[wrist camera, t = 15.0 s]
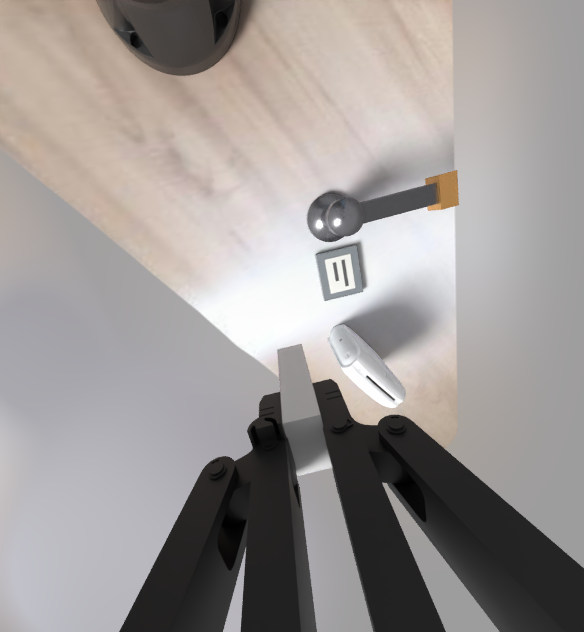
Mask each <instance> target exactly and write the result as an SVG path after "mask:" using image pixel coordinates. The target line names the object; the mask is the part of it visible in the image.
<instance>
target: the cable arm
mask: <svg viewBox="0 0 584 632" xmlns="http://www.w3.org/2000/svg"><path fill="white" fill-rule="evenodd" d="M425 182H426V185H424V186H421V187H417V188H413V189H409V190H406V191H402V192H398V193H394V194H391V195H387V196H383V197H379V198H376V199H372V200H368V201H364V202H361V203H359V202H358V201H357V200H355V199H352V198H343V199H340V200H337V201H335V202H333V203H332V204H330V206H329V207H328V208H327V210H326V213H325V224H326V226H327V228H328V230H329V231H330V232H332V233H333V234H336V235H340V236H351V235H353V234H355V233H356V232H358V231H359V230H360V228H361V227H362V225H363V223H367V222H371V221H375V220H378V219H382V218H386V217H390V216H393V215H397V214H401V213H405V212H408V211H412V210H416V209H420V208H423V207H428V211H430V210H442V209H446V208H450V207H453V206H457V205H459V203H458V180H457V170H456V171H452V172H448V173H444V174H441V175H437V176H433V177H430V178H426V179H425Z"/></svg>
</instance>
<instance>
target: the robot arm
mask: <svg viewBox="0 0 584 632" xmlns="http://www.w3.org/2000/svg"><path fill="white" fill-rule="evenodd" d="M96 1H97V4H98V6H99V8H100V10H101V12H102V14H103V15H104V17H105V19H106V21H107V22H108V24H109V25H110V27H111V28H112V30H113V31H114V32H115V34H116V35H117V36H118V37H119V38H120V40H121V41H122V42H123V43H124V45H125V46H126V47H127V48H128V49H129V50H130V51H131V52H132V53H133V54H134V55H135V56H136V57H137V58H138V59H140V60H141V61H142V62H144V63H145V64H147V65H148V66H150V67H152V68H154V69H156V70H158V71H160V72H163V73H167V74H171V75H179V76H185V75H192V74H196V73H199V72H202V71H204V70H206V69H208V68H210V67H211V66H213V65H214V64H215V63H216V62H217V61H219V60H220V58H221V57H222V56H223V55H224V54H225V52H226V51H227V49H228V48H229V46H230V44H231V43H232V40H233V38H234V36H235V33H236V30H237V26H238V22H239V17H240V7H241V0H96ZM278 365H279V380H280V392H278V393H273V394H270V395H265V396H263V398H262V400H261V401H260V404H259V418H257V419H256V420H255V421H253V422H252V423H251V424H250V426H249V428H248V430H247V432H248V435H249V438H250V440H251V443H252V446H253V450H252V451H251V452H249V453H248V454H247V455H245V456H244V457H242V458H240V459H238V460H236V461H234V460H233V459H232V458H230V457H226V456H223V457H218V458H216V459H214V460H212V461H211V462H210V463H208V464H207V465H206V466H205V468H204V469H203V470H202V472H201V474H200V476H199V477H198V479H197V481H196V483H195V486H194V487H193V489H192V491H191V493H190V495H189V497H188V499H187V501H186V503H185V505H184V507H183V509H182V511H181V513H180V515H179V516H178V519H177V520H176V522H175V524H174V526H173V528H172V530H171V532H170V534H169V536H168V538H167V540H166V542H165V544H164V546H163V548H162V550H161V552H160V553H159V555H158V557H157V559H156V561H155V563H154V565H153V568H152V569H151V571H150V573H149V575H148V577H147V579H146V581H145V583H144V585H143V587H142V589H141V590H140V592H139V594H138V596H137V598H136V600H135V602H134V604H133V606H132V608H131V610H130V612H129V614H128V616H127V618H126V620H125V622H124V624H123V626H122V628H121V630H120V631H119V632H223V629H224V625H225V621H226V618H227V614H228V610H229V607H230V603H231V599H232V596H233V592H234V588H235V585H236V581H237V577H238V573H239V570H240V566H241V563H242V559H243V555H244V552H245V548H246V559H245V576H244V591H243V605H242V620H241V632H317V629H316V622H315V612H314V604H313V596H312V587H311V579H310V570H309V562H308V554H307V546H306V537H305V529H304V520H303V512H302V503H301V495H300V487H299V484H298V481H297V475H298V476H299V475H303V474H307V473H312V472H316V471H320V470H324V469H328V468H332V469H333V473H334V478H335V482H336V486H337V490H338V494H339V498H340V502H341V505H342V510H343V514H344V517H345V522H346V525H347V529H348V533H349V537H350V541H351V545H352V548H353V553H354V557H355V561H356V565H357V569H358V573H359V577H360V581H361V585H362V589H363V593H364V596H365V601H366V604H367V608H368V612H369V616H370V620H371V624H372V628H373V632H446V631H445V629H444V627H443V624H442V622H441V619H440V617H439V615H438V613H437V610H436V608H435V605H434V603H433V601H432V598H431V596H430V594H429V591H428V589H427V587H426V585H425V582H424V580H423V578H422V576H421V573H420V571H419V568H418V566H417V563H416V561H415V559H414V557H413V554H412V552H411V549H410V547H409V545H408V542H407V540H406V538H405V536H404V533H403V531H402V529H401V526H400V524H399V522H398V519H397V517H396V515H395V512H394V510H393V507H392V505H391V503H390V501H389V498H388V496H387V494H386V491H385V489H384V487H383V484H382V482H384V483H387V484H388V486H389V487H390V489H391V490H392V491H393V493H394V494H395V495H396V497H397V498H398V499H399V501H400V502H401V503H402V504H403V506H404V507H405V508H406V510H407V511H408V512H409V514H410V515H411V516H412V517H413V519H414V520H415V521H416V523H417V524H418V525H419V527H420V528H421V529H422V531H423V532H424V533H425V535H426V536H427V537H428V538H429V540H430V541H431V542H432V544H433V545H434V546H435V547H436V549H437V550H438V551H439V553H440V554H441V555H442V556H443V558H444V559H445V561H446V562H447V563H448V564H449V566H450V567H451V568H452V570H453V571H454V572H455V574H456V575H457V576H458V578H459V579H460V580H461V582H462V583H463V584H464V586H465V587H466V588H467V589H468V591H469V592H470V593H471V595H472V596H473V597H474V599H475V600H476V601H477V603H478V604H479V605H480V606H481V608H482V609H483V610H484V612H485V613H486V614H487V615H488V617H489V618H490V619H491V621H492V622H493V623H494V625H495V626H496V627H497V629H498V630H499V631H500V632H584V568H583V567H581V566H580V565H579V564H578V563H577V562H576V561H575V560H573V559H572V558H571V557H570V556H569V555H567V554H566V553H565V552H564V551H563V550H562V549H561V548H559V547H558V546H557V545H556V544H555V543H553V542H552V541H551V540H550V539H549V538H548V537H547V536H545V535H544V534H543V533H542V532H541V531H540V530H538V529H537V528H536V527H535V526H534V525H532V524H531V523H530V522H529V521H528V520H527V519H526V518H524V517H523V516H522V515H521V514H520V513H519V512H517V511H516V510H515V509H514V508H513V507H512V506H510V505H509V504H508V503H507V502H505V501H504V500H503V499H502V498H501V497H500V496H499V495H498V494H496V493H495V492H494V491H493V490H492V489H491V488H489V487H488V486H487V485H486V484H485V483H484V482H482V481H481V480H480V479H479V478H478V477H477V476H475V475H474V474H473V473H472V472H471V471H470V470H468V469H467V468H466V467H465V466H464V465H463V464H462V463H460V462H459V461H458V460H457V459H456V458H455V457H453V456H452V455H451V454H450V453H449V452H448V451H446V450H445V449H444V448H443V447H442V446H441V445H439V444H438V443H437V442H436V441H435V440H434V439H432V438H431V437H430V436H429V435H428V434H427V433H425V432H424V431H423V430H422V429H421V428H420V427H418V426H417V425H416V424H415V423H414V422H413V421H411V420H410V419H408V418H407V417H405V416H401V415H389V416H385V417H384V418H382V419H381V420H380V421H379V423H378V425H363V424H360V423H358V422H356V421H355V420H354V419H353V418H352V417H351V415H350V413H349V411H348V408H347V406H346V404H345V401H344V399H343V396H342V394H341V392H340V389H339V387H338V385H337V383H336V382H334V381H333V380H332V379H329V380H324V381H320V382H316V383H312V381H311V377H310V373H309V370H308V366H307V362H306V358H305V355H304V351H303V347H302V344H299V345H295V346H290V347H286V348H282V349H278ZM296 472H297V474H296Z"/></svg>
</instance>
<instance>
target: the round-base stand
mask: <svg viewBox="0 0 584 632" xmlns="http://www.w3.org/2000/svg"><path fill="white" fill-rule="evenodd" d="M343 198H344V197H342V196H341V195H338V194H334V193H328V194H324V195H322V196H320V197H318V198H317V199H316V200H314V202H313V203H312V204H311V206H310V208H309V210H308V213H307V224H308V227H309V230H310V231H311V233H312V234H313V235H314V236H315V237H316V238H318V239H319V240H322V241H325V242H334V241H337V240H339V239H341V238H343V237H344V236H340V235H336V234H333V233H332V232H330V231H329V230H328V228H327V226H326V224H325V213H326V210H327V208H328V207H329V206H330V204H332V203H333V202H335V201H337V200H340V199H343Z"/></svg>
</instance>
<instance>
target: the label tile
mask: <svg viewBox="0 0 584 632" xmlns="http://www.w3.org/2000/svg"><path fill="white" fill-rule="evenodd" d="M315 258H316V263H317V268H318V273H319V278H320V283H321V289H322V294H323V299H324V301H327V300H331V299H335V298H340V297H344V296H348V295H352V294H356V293H360V292H363V287H362V280H361V273H360V266H359V259H358V252H357V246H356V245H353V246H349V247H345V248H341V249H336V250H332V251H328V252H324V253H320V254H316V255H315Z"/></svg>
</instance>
